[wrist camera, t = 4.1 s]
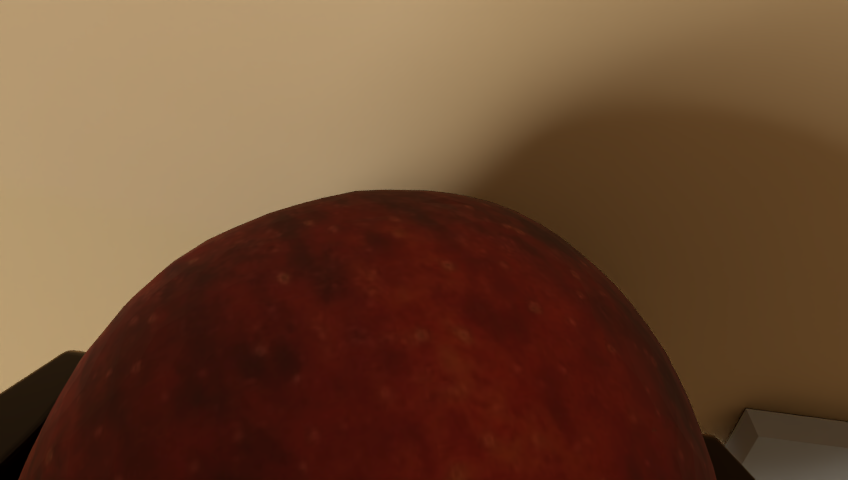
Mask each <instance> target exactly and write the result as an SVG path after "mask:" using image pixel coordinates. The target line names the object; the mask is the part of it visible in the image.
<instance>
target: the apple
mask: <svg viewBox="0 0 848 480" xmlns="http://www.w3.org/2000/svg"><path fill="white" fill-rule="evenodd" d="M18 480H717V479H716V475H715V471H714V467H713V464H712V461H711V458H710V455H709V453H708V450H707V447H706V444H705V441H704V438H703V436H702V433H701V430H700V427H699V425H698V422H697V419H696V417H695V414H694V412H693V409H692V407H691V404H690V402H689V399H688V397H687V395H686V393H685V390H684V388H683V386H682V384H681V382H680V380H679V378H678V376H677V374H676V372H675V370H674V368H673V366H672V364H671V362H670V360H669V358H668V356H667V354H666V353H665V351H664V349H663V348H662V346H661V345H660V343H659V342H658V340H657V339H656V337H655V336H654V334H653V333H652V331H651V330H650V328H649V327H648V325H647V324H646V323H645V321H644V320H643V319H642V317H641V316H640V315H639V313H638V312H637V311H636V309H635V308H634V307H633V305H632V304H631V303H630V302H629V300H628V299H627V298H626V297H625V296H624V295H623V294H622V292H621V291H620V290H619V289H618V288H617V287H616V286H615V285H614V284H613V283H612V282H611V281H610V280H609V279H608V278H607V277H606V276H605V275H604V274H603V273H602V272H601V271H600V270H599V269H598V268H597V267H596V266H595V265H594V264H592V263H591V262H590V261H589V260H588V259H586V258H585V257H584V256H583V255H582V254H580V253H579V252H578V251H577V250H576V249H574V248H573V247H572V246H571V245H569V244H568V243H567V242H566V241H564V240H563V239H562V238H560V237H559V236H558V235H556V234H555V233H553V232H552V231H550V230H549V229H547V228H546V227H544V226H542V225H541V224H539V223H537V222H535V221H533V220H531V219H529V218H527V217H525V216H524V215H522V214H520V213H518V212H516V211H513V210H510V209H508V208H505V207H503V206H500V205H497V204H495V203H492V202H488V201H484V200H480V199H476V198H472V197H468V196H463V195H457V194H452V193H444V192H435V191H424V190H370V191H354V192H349V193H345V194H340V195H335V196H330V197H326V198H321V199H317V200H313V201H309V202H306V203H302V204H298V205H295V206H291V207H288V208H285V209H282V210H278V211H275V212H272V213H269V214H266V215H264V216H261V217H259V218H257V219H254V220H252V221H249V222H247V223H245V224H242V225H240V226H237V227H235V228H233V229H230V230H228V231H226V232H224V233H222V234H219V235H217V236H215V237H213V238H211V239H209V240H207V241H205V242H204V243H202V244H200V245H199V246H197V247H196V248H194V249H193V250H191V251H189V252H188V253H186V254H185V255H183V256H182V257H180V258H178V259H177V260H175V261H174V262H173V263H171V264H170V265H169V266H168V267H167V268H165V269H164V270H163V271H162V272H161V273H159V274H158V275H157V276H156V277H155V278H154V279H153V280H152V281H150V282H149V283H148V284H147V285H146V286H145V287H144V288H143V289H141V290H140V291H139V292H138V293H137V294H136V295H135V296H134V297H132V299H131V300H130V301H129V302H128V303H127V304H126V305H125V306H124V307H123V308H122V309H121V311H120V312H119V313H118V314H117V316H116V317H115V318H114V319H113V320H112V322H111V323H110V324H109V325H108V327H107V328H106V329H105V330H104V331H103V333H102V334H101V335H100V336H99V337H98V339H97V340H96V341H95V342H94V343H93V345H92V346H91V347H90V348H89V349H88V351H87V352H86V353H85V354H84V355H83V357H82V358H81V360H80V362H79V363H78V365H77V366H76V368H75V370H74V371H73V373H72V375H71V376H70V378H69V380H68V381H67V383H66V385H65V386H64V388H63V390H62V391H61V393H60V395H59V396H58V398H57V400H56V402H55V404H54V406H53V408H52V410H51V411H50V413H49V415H48V417H47V419H46V421H45V423H44V425H43V427H42V429H41V431H40V433H39V435H38V437H37V439H36V441H35V443H34V445H33V447H32V449H31V451H30V453H29V455H28V458H27V460H26V462H25V465H24V467H23V470H22V472H21V474H20V477H19V479H18Z"/></svg>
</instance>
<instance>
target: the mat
mask: <svg viewBox="0 0 848 480" xmlns="http://www.w3.org/2000/svg"><path fill="white" fill-rule="evenodd" d="M725 447H726V448H727V449H728V450H729V452H730V453H731V454H732V455H733V456H734V457H735V458H736V459H737V460H738V461H739V462H740V463H741V464H742V465H743V466H744V468H745V469H746V470H747V471H748V472H749V473H750V474H751V475H752V476H753V477H754V478H755V479H756V480H848V422H844V421H837V420H829V419H822V418H814V417H806V416H799V415H791V414H784V413H776V412H769V411H761V410H754V409H746V410H745V411H744V413H743V415H742V416H741V418H740V420H739V422H738V423H737V425H736V427H735V429H734V430H733V432H732V434H731V436H730V437H729V439H728V441H727V443H726V444H725Z"/></svg>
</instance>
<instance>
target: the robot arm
mask: <svg viewBox="0 0 848 480" xmlns="http://www.w3.org/2000/svg"><path fill="white" fill-rule="evenodd" d="M85 353H86V352H82V351H75V350H70V351H67V352H64V353H62V354H60V355H59V356H57V357H56V358H54V359H53V360H51V361H50V362H48V363H47V364H45V365H44V366H42V367H40V368H39V369H37V370H36V371H34V372H33V373H31V374H30V375H28V376H27V377H25V378H24V379H22V380H21V381H19V382H17V383H16V384H14V385H13V386H11V387H10V388H8V389H7V390H5V391H4V392H2V393H1V394H0V480H18V479H19V477H20V474H21V472H22V470H23V467H24V465H25V462H26V460H27V458H28V455H29V453H30V451H31V449H32V447H33V445H34V443H35V441H36V439H37V437H38V435H39V433H40V431H41V429H42V427H43V425H44V423H45V421H46V419H47V417H48V415H49V413H50V411H51V410H52V408H53V406H54V404H55V402H56V400H57V398H58V396H59V395H60V393H61V391H62V390H63V388H64V386H65V385H66V383H67V381H68V380H69V378H70V376H71V375H72V373H73V371H74V370H75V368H76V366H77V365H78V363H79V362H80V360H81V358H82V357H83V355H84V354H85ZM702 436H703V438H704V441H705V444H706V447H707V450H708V453H709V455H710V458H711V461H712V464H713V467H714V471H715V475H716V479H717V480H756V479H755V478H754V477H753V476H752V475H751V474H750V473H749V472H748V471H747V470H746V469H745V468H744V466H743V465H742V464H741V463H740V462H739V461H738V460H737V459H736V458H735V457H734V456H733V455H732V454H731V453H730V452H729V450H728V449H727V448H726V447H725V446H724V445H723V444H722V443H721V442H720V441H719V440H718V439H717V438H715V437H714V436H712V435H708V434H702Z"/></svg>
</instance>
